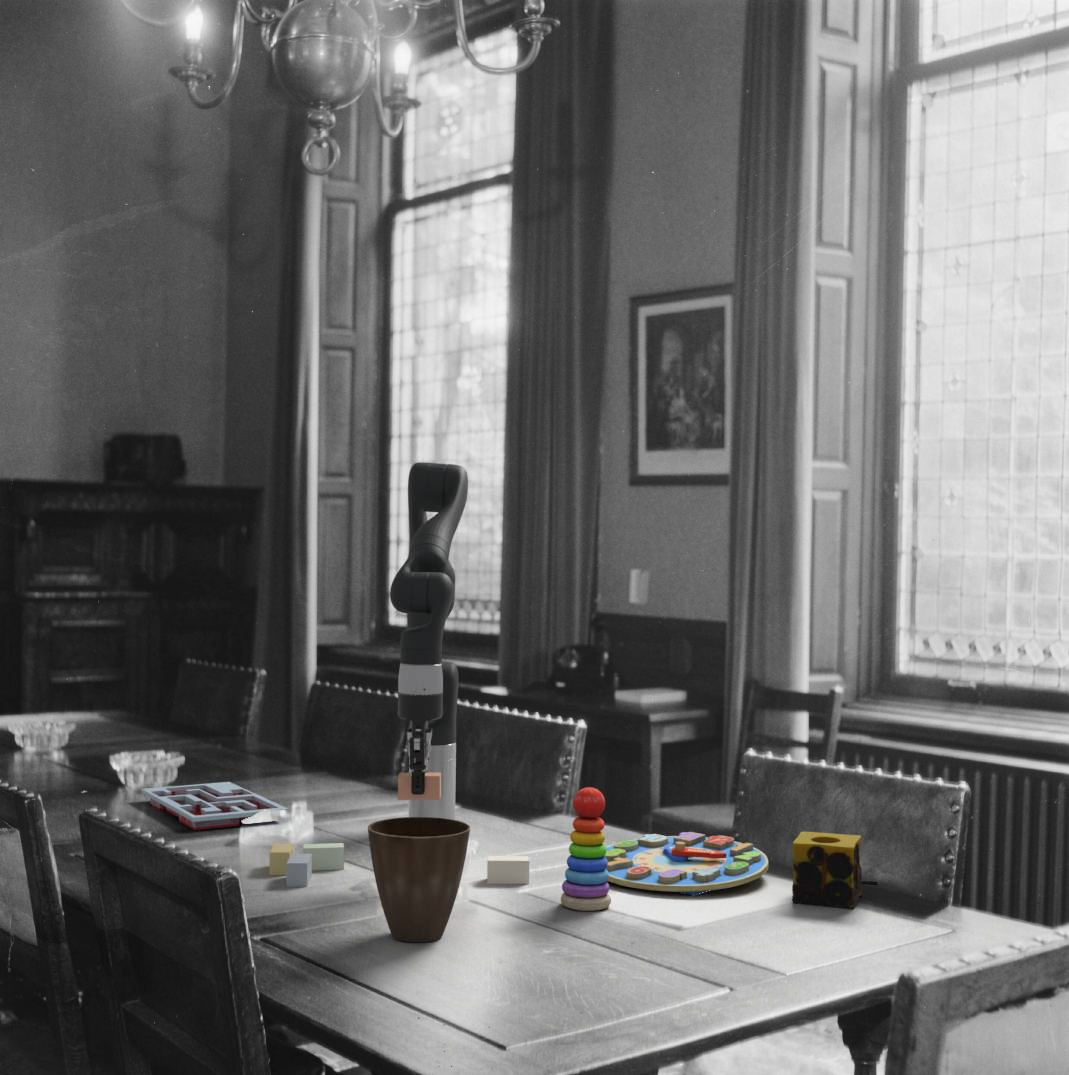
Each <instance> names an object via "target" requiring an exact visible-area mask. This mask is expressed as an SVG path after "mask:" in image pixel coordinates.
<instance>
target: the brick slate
mask: <svg viewBox="0 0 1069 1075" xmlns="http://www.w3.org/2000/svg"><path fill="white" fill-rule="evenodd" d="M312 872H313V870H312V854H303V853H293V854H291V856H290V858H289V860H288V862H287V873H286V875H285V876H286V884H285V885H286V887H291V888H293V887H294V888H295V887H296V888H297V887H299V888H300V887H301V888H302V887H308V885H309V883H310V880H311V879H312V876H313V873H312Z"/></svg>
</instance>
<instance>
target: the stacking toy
mask: <svg viewBox="0 0 1069 1075" xmlns="http://www.w3.org/2000/svg"><path fill="white" fill-rule="evenodd" d="M605 807H606V799H605V797H604V795H603V793H602V792H601V791H600V790H599V789H598V788H595V787H589V786H588V787H584V788H582V789H579V790H578V792H576V794H575V795H574V798H573V808H574V811H575V813H576V814H577V815H578V817H575V818H574V819H573V820H572V828H573V829H574V830H573V831H572V832H570V836H569V838H570V841H571V843H570V845H569V846H568V851H569V854H570V855H569V856H568V857H567V858H566V865H567V866H568V868H566V870H565V872H564V877H565V880H564V881H563V882H562V883H561V884H562V885H561V889H562V892H563V893H562V894H561V896H560V903H561V904H562V905H563V906H564V907H565V908H566V909H567V908H568V909H570V910H575V911H582V912H594V911H601V910H605V909H606V908H608V907H609V906H610V905H611V903H612V898H611V895H610V894H609V892H610V885H609V883H608V881H607V880H608V878H609V872H608V871H607V870H606V867H607V865H608V861H607V859H606V858H605V857H604V856H605V854H606V851H607V849H606V847H607V846H606V844H604V842H605V839H606V836H605V834H604V832H602V831H603V830H604V828H605V821H604V819H602V818H601V817H600V816H601V815H602V814H603V812H604V810H605Z"/></svg>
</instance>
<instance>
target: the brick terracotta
mask: <svg viewBox="0 0 1069 1075" xmlns="http://www.w3.org/2000/svg"><path fill="white" fill-rule="evenodd" d="M411 782H412V773H409V772H399V774H398V776H397V800H398V801H409V800H440V797H441V773H425V792H424V794H422V795H414V794H412V792H411Z"/></svg>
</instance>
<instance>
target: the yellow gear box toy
mask: <svg viewBox="0 0 1069 1075" xmlns="http://www.w3.org/2000/svg"><path fill="white" fill-rule="evenodd" d="M861 844H862V836H861V835H859V834H857V835H856V834H844V833H832V832H830V833H828V832H818V831H801V832H800V833H799V834H798V836H797V837H796V838H795V839H794V840H793V842H792V861H791V862H792V865H793V876H792V879H793V880H792V881H793V882H792V887H791V888H792V889H791V892H792V897H791V898H792V899H791V902H792V901H793V902H792V903H794V902H796V903H795V904H798V903H801V904H800V905H810V904H812V906H819V905H823V906H822V907H829V908H830V907H832V908H841V909H855V907H856V906H857V905H858V903H859V901H860V897H861V896H862V893H863V888H862V887H863V885H862V879H863V875H862V867H861V865H860V858H861V857H860V852H861Z"/></svg>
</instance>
